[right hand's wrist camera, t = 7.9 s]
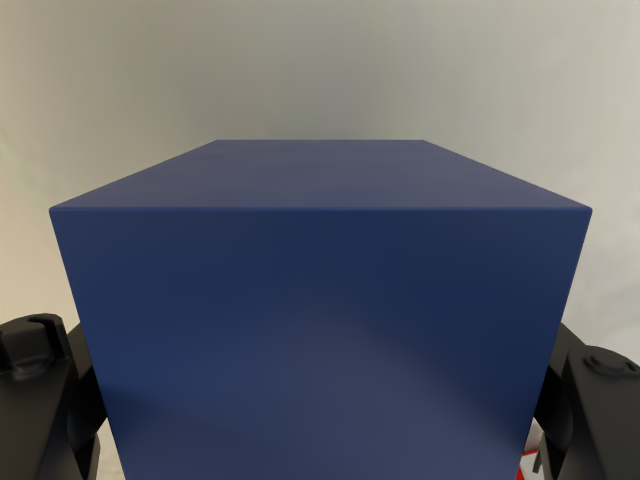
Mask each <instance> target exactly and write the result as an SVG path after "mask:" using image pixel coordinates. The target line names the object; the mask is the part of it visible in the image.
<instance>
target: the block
mask: <svg viewBox="0 0 640 480" xmlns="http://www.w3.org/2000/svg"><path fill="white" fill-rule="evenodd" d="M49 214H50V218H51V221H52V225H53V228H54V232H55V235H56V239H57V242H58V246H59V249H60V253H61V256H62V260H63V263H64V266H65V270H66V273H67V277H68V280H69V284H70V287H71V291H72V294H73V298H74V301H75V305H76V308H77V312H78V315H79V319H80V322H81V326H82V329H83V333H84V336H85V340H86V343H87V347H88V350H89V354H90V357H91V361H92V364H93V368H94V371H95V375H96V378H97V382H98V385H99V389H100V392H101V396H102V399H103V402H104V406H105V409H106V413H107V416H108V420H109V423H110V427H111V430H112V434H113V437H114V441H115V444H116V448H117V451H118V455H119V458H120V462H121V465H122V469H123V472H124V476H125V479H126V480H515V479H516V475H517V472H518V468H519V465H520V461H521V458H522V455H523V451H524V448H525V444H526V441H527V437H528V434H529V430H530V427H531V423H532V420H533V416H534V413H535V409H536V406H537V402H538V399H539V396H540V392H541V389H542V385H543V382H544V378H545V375H546V371H547V368H548V364H549V361H550V357H551V354H552V350H553V347H554V343H555V340H556V336H557V333H558V330H559V326H560V323H561V319H562V316H563V312H564V309H565V305H566V302H567V298H568V295H569V291H570V288H571V284H572V281H573V277H574V274H575V271H576V267H577V264H578V260H579V257H580V253H581V250H582V246H583V243H584V239H585V236H586V232H587V229H588V225H589V222H590V218H591V215H592V208H591V207H588V206H586V205H583V204H581V203H578V202H576V201H573V200H571V199H568V198H566V197H563V196H561V195H559V194H556V193H554V192H551V191H549V190H546V189H544V188H541V187H539V186H536V185H534V184H531V183H529V182H526V181H524V180H521V179H519V178H516V177H514V176H511V175H509V174H506V173H504V172H501V171H499V170H497V169H494V168H492V167H489V166H487V165H484V164H482V163H479V162H477V161H474V160H472V159H469V158H467V157H464V156H462V155H459V154H457V153H454V152H452V151H449V150H447V149H444V148H442V147H439V146H437V145H434V144H432V143H430V142H427V141H425V140H216V141H213V142H211V143H208V144H206V145H204V146H201V147H199V148H196V149H194V150H191V151H189V152H186V153H184V154H181V155H179V156H176V157H174V158H171V159H169V160H167V161H164V162H162V163H159V164H157V165H154V166H152V167H149V168H147V169H144V170H142V171H139V172H137V173H134V174H132V175H130V176H127V177H125V178H122V179H120V180H117V181H115V182H112V183H110V184H107V185H105V186H102V187H100V188H97V189H95V190H93V191H90V192H88V193H85V194H83V195H80V196H78V197H75V198H73V199H70V200H68V201H65V202H63V203H60V204H58V205H55V206H53V207H51V208H50V209H49Z"/></svg>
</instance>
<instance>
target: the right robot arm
mask: <svg viewBox="0 0 640 480" xmlns="http://www.w3.org/2000/svg"><path fill="white" fill-rule="evenodd" d="M106 418H108V416H107V413H106V409H105V406H104V402H103V399H102V396H101V392H100V389H99V385H98V382H97V378H96V375H95V371H94V368H93V364H92V361H91V357H90V354H89V350H88V347H87V343H86V340H85V336H84V333H83V329H82V326H81V322H80V323H79V324H78V325H77V326H76V327H75V328H74V329H73V330H72V331H70V332H69V333H68V334H66V330H65V327H64V324H63V321H62V318H61V317H59V316H57V315H56V314H48V313H43V314H33V315H28V316H24V317H21V318H17V319H14V320H11V321H9V322H6V323H4V324H1V325H0V480H96V475H97V468H98V461H99V454H100V442H99V438H98V435H97V431H98V430H99V428H100V427H101V425H102V424H103V422H104V421H105V419H106ZM534 418H535V419H536V421H537V422H538V424H539V425H540V427H541V428H542V430H543V434H542V438H541V441H540V444H539V448H538V451H537V454H536V457H535V461H534V464H533V470H532V472H534V473H537V474H538V472H539V469H540V466H541V465H542V467H543V474H544V480H640V367H639V366H638V365H637V364H635V363H634V362H632V361H631V360H629V359H628V358H626V357H624V356H622V355H620V354H618V353H616V352H614V351H611V350H607V349H604V348H601V347H597V346H589V345H585V344H584V343H583V342H582V341H581V340H580V339H579V338H578V337H577V336H576V335H574V334H573V333H572V332H571V331H570V330H569V329H568V328H567V327H566V326H565V325H564V324H563V323H562V322H561V323H560V326H559V330H558V333H557V336H556V340H555V343H554V347H553V350H552V354H551V357H550V361H549V364H548V368H547V371H546V375H545V378H544V382H543V385H542V389H541V392H540V396H539V399H538V402H537V406H536V409H535V413H534ZM108 421H109V420H108ZM109 425H110V423H109ZM110 428H111V427H110ZM111 431H112V430H111ZM112 435H113V434H112Z"/></svg>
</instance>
